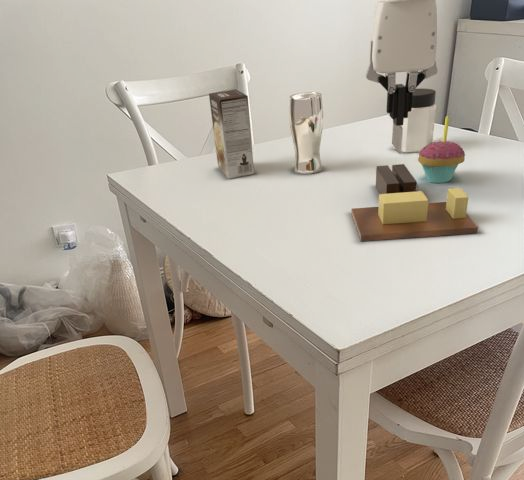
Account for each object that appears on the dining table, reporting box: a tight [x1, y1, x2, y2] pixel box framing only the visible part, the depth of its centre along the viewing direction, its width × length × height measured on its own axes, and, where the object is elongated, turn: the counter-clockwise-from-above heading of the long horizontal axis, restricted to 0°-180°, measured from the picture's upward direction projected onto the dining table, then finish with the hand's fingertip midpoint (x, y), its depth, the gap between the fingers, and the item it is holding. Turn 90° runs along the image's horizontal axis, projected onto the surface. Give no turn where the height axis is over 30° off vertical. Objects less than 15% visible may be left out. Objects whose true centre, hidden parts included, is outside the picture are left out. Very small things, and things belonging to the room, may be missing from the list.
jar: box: [392, 88, 437, 154], centre depth 122 cm, size 9×8×12 cm
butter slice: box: [445, 187, 469, 219], centre depth 87 cm, size 2×4×4 cm, turn 0°
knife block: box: [375, 163, 418, 195], centre depth 99 cm, size 5×11×4 cm, turn 179°
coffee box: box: [208, 89, 255, 180], centre depth 117 cm, size 9×6×16 cm
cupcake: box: [417, 111, 466, 184], centre depth 102 cm, size 9×8×12 cm
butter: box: [377, 190, 429, 224], centre depth 88 cm, size 7×4×4 cm, turn 90°
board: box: [350, 201, 479, 242], centre depth 89 cm, size 18×12×1 cm, turn 89°
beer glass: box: [288, 91, 324, 175], centre depth 114 cm, size 7×7×15 cm
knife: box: [391, 83, 406, 155], centre depth 93 cm, size 1×7×10 cm, turn 0°
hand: (398, 116), depth 93 cm, fingers closed on knife, 1 cm apart
